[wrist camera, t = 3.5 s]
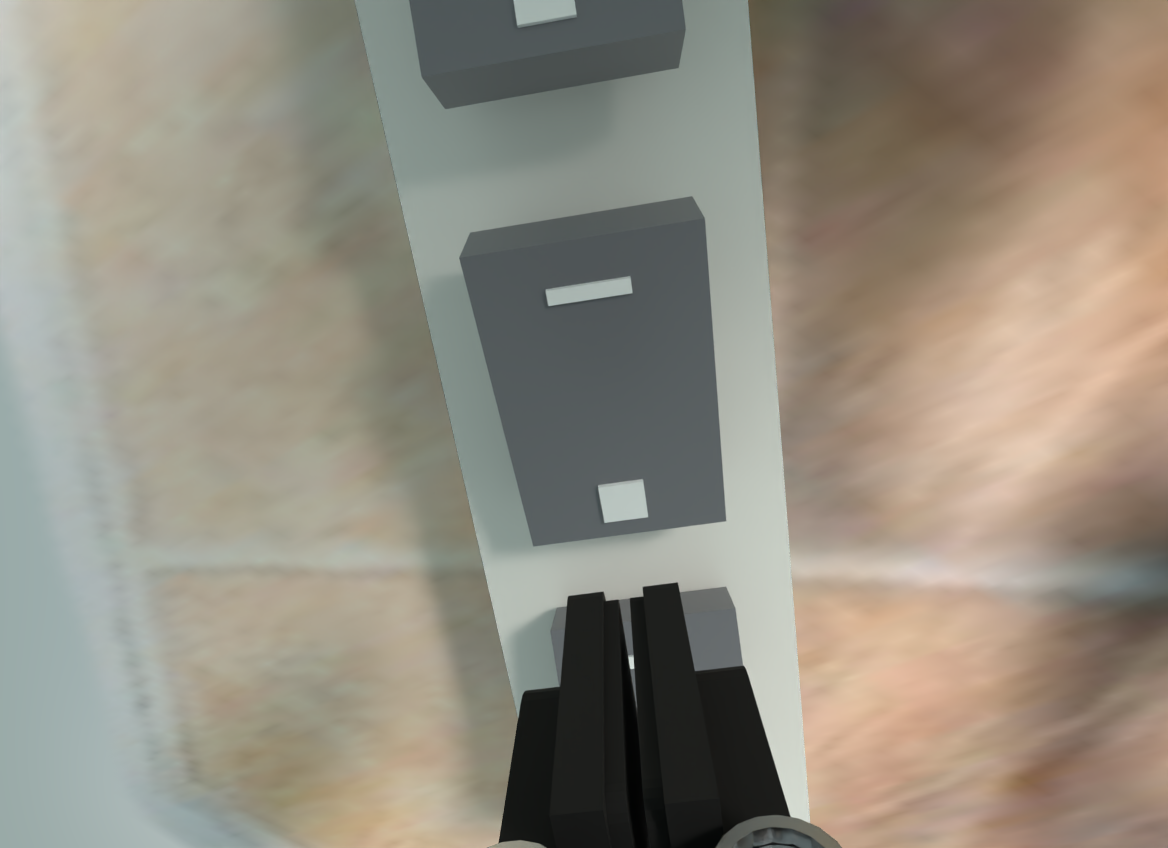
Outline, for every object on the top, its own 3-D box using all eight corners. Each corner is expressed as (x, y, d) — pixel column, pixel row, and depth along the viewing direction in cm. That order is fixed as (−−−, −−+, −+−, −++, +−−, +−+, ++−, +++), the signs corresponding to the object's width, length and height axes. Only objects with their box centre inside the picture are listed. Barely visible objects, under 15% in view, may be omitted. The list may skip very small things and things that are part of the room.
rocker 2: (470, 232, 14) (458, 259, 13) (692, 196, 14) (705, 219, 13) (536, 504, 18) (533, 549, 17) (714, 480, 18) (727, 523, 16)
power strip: (246, -661, 14) (103, -1003, 10) (650, -767, 14) (671, -1176, 10) (552, 766, 25) (543, 877, 21) (782, 741, 25) (818, 850, 21)
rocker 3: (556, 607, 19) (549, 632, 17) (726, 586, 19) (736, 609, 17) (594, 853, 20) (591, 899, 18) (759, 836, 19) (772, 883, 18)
